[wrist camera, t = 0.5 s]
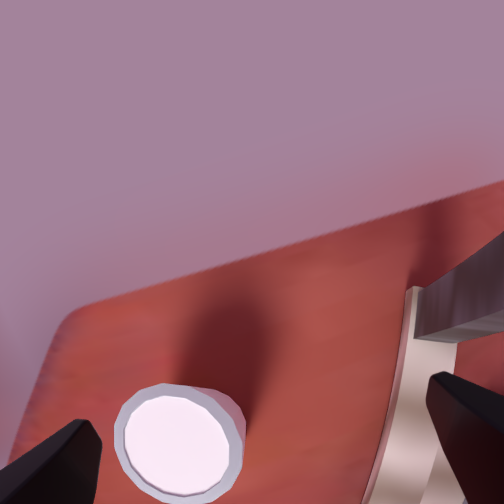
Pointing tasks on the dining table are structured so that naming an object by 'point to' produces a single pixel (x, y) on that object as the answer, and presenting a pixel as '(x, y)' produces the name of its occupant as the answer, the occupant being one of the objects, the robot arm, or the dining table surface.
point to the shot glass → (181, 442)
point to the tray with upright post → (426, 364)
